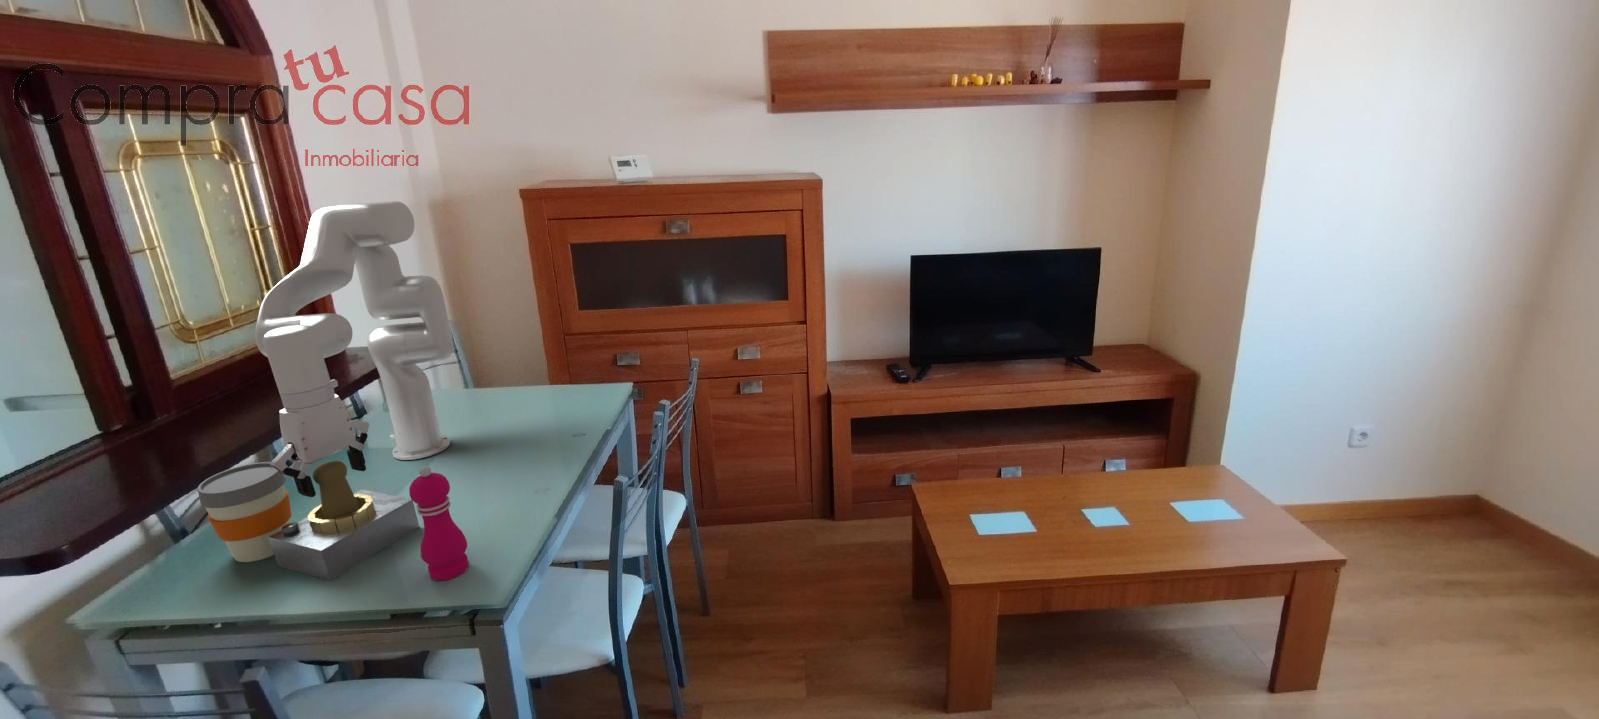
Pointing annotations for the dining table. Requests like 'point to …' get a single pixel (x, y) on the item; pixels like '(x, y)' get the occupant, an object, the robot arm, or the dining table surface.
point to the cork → (334, 490)
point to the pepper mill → (438, 527)
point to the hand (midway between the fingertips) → (334, 482)
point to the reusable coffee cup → (247, 508)
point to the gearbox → (343, 535)
